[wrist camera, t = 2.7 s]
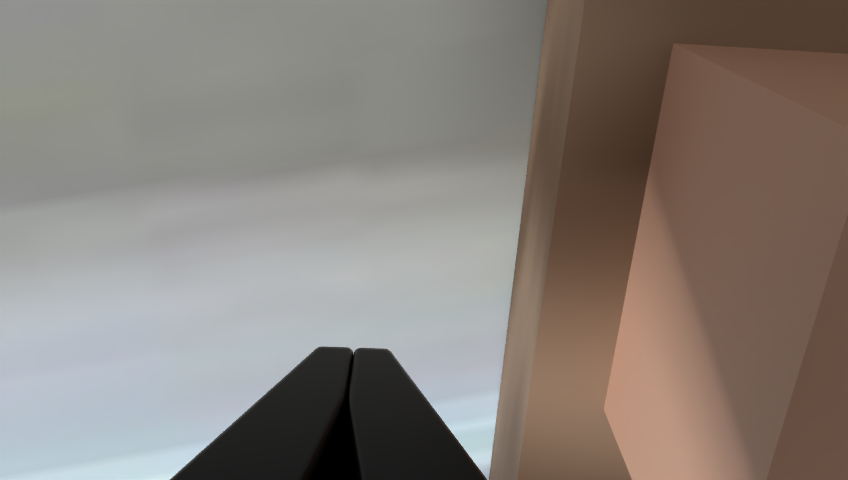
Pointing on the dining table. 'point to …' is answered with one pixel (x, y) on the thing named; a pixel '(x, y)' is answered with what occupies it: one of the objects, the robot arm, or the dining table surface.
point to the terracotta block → (740, 275)
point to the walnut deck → (603, 208)
